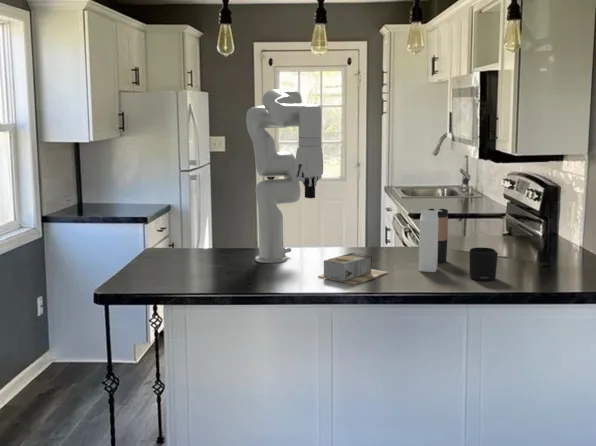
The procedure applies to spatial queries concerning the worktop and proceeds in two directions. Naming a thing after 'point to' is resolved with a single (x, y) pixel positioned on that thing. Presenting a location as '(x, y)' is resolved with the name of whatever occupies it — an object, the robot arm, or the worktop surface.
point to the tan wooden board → (361, 277)
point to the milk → (428, 241)
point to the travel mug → (442, 234)
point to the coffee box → (347, 266)
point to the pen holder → (483, 264)
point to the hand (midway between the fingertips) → (309, 197)
